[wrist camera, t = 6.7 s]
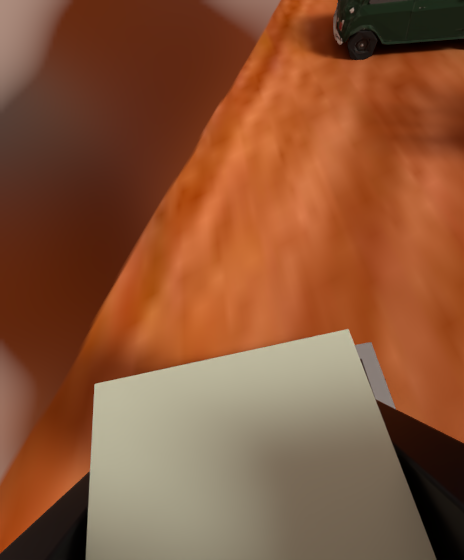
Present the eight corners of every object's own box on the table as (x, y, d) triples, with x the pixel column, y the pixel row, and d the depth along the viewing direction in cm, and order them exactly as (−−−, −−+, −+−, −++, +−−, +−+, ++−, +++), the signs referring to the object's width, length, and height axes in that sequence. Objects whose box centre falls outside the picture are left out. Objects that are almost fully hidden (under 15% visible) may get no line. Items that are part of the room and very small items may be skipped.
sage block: (362, 568, 11) (506, 742, 4) (217, 595, 12) (71, 812, 4) (318, 413, 14) (348, 328, 6) (200, 437, 14) (94, 383, 7)
